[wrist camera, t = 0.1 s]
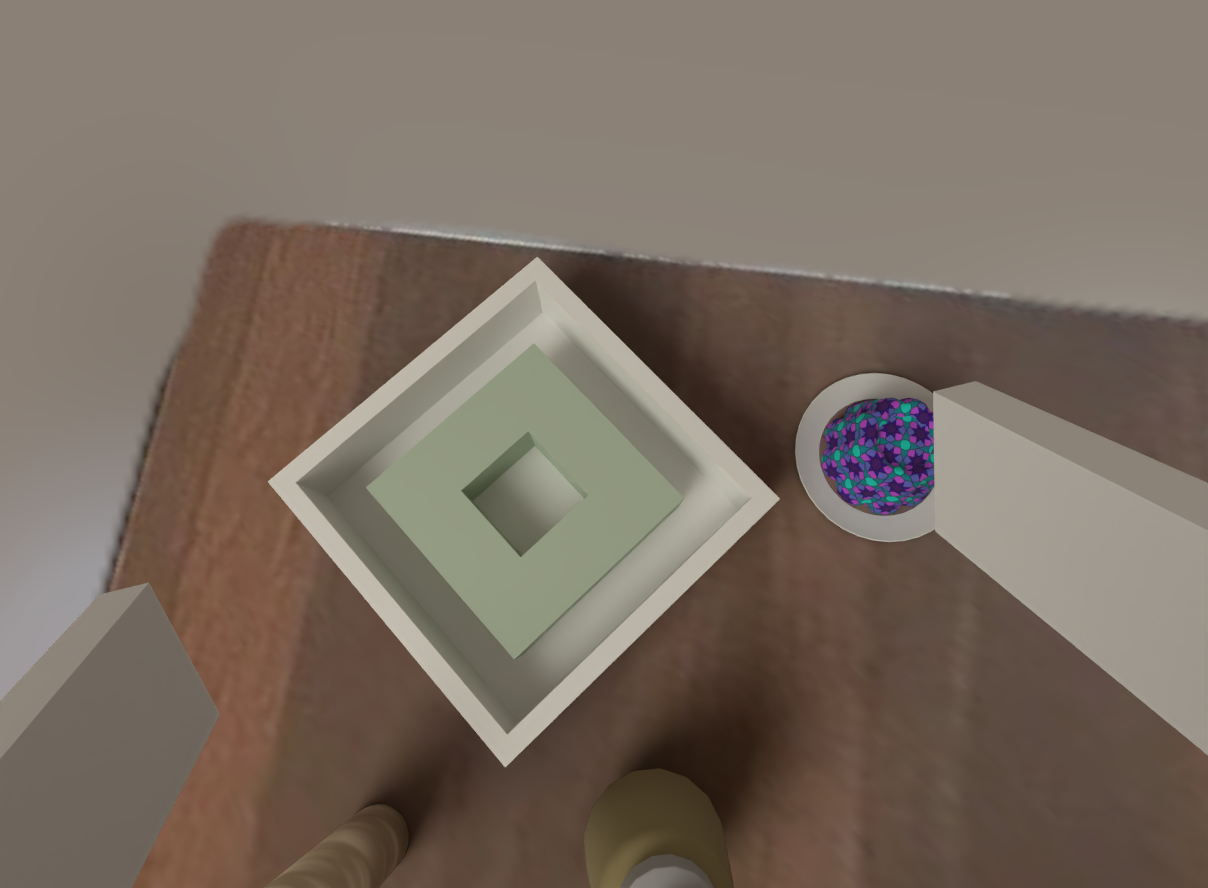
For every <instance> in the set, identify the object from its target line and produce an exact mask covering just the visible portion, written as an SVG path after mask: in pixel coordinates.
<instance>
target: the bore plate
mask: <svg viewBox="0 0 1208 888" xmlns="http://www.w3.org/2000/svg"><path fill="white" fill-rule="evenodd" d="M534 446H536V447H537V449H538V450H539V451H540V452H541V453H542V454H543V455H544V456H545V457H546V458H547V459H548V460H549V461H550V462H551V463H552V465H553V466H554V467H555V468H556V469H557V470H558V471H559V472H560V473H561V474H562V475H563V476H564V477H565V478H566V480H567V481H568V482H569V483H570V484H571V485H572V486H573V487H574V488H575V489H576V490H577V491H578V492H579V493H580V494H581V496H582V497H583V498H584V500H582V501H581V502H580V503H579V504H578V505H577V506H576V507H575V508H574V509H573V510H572V511H570V512H569V513H568V514H567V515H566V516H565V517H564V518H563V519H562V520H561V521H560V522H559V523H557V524H556V525H555V526H554V527H553V528H552V529H551V530H550V531H549V532H548V533H547V534H545V535H544V536H543V537H542V538H541V539H540V540H539V541H538V542H537V543H536V544H535V545H533V546H532V547H531V548H530V549H529V550H528V551H527V552H526V553H525V554H524V555H523V556H522V555H521V554H520V553H519V551H518V550H517V549H516V548H515V547H514V546H513V545H512V544H511V542H510V541H509V540H508V539H507V538H506V537H505V536H504V535H503V534H502V532H501V531H500V530H499V529H498V528H497V527H496V526H495V525H494V524H493V522H492V521H491V520H490V519H489V518H488V517H487V516H486V515H485V513H484V512H483V511H482V510H481V509H480V508H479V507H478V506H477V505H476V503H475V502H474V501H473V500H474V499H476V498H477V497H478V496H479V495H480V494H481V493H482V492H483V491H485V490H486V489H487V488H488V487H489V486H490V485H491V484H492V483H494V482H495V481H496V480H497V479H498V478H499V477H500V476H501V475H502V474H504V473H505V472H506V471H507V470H508V469H509V468H510V467H511V466H513V465H514V464H515V463H516V462H517V461H518V460H519V459H520V458H522V457H523V456H524V455H525V454H526V453H527V452H528V451H529V450H531V449H532V448H533V447H534ZM366 488H367V490H368V491H369V492H370V493H371V494H372V495H373V497H374V498H375V499H376V500H377V501H378V502H379V504H380V505H381V506H382V507H383V508H384V509H385V510H386V512H387V513H388V514H389V515H390V516H391V517H392V519H393V520H394V521H395V522H396V523H397V524H398V526H399V527H400V528H401V529H402V530H403V531H404V532H405V534H406V535H407V536H408V537H409V538H410V539H411V541H412V542H413V543H414V544H415V545H416V546H417V548H418V549H419V550H420V551H421V552H422V553H423V555H424V556H425V557H426V558H427V559H428V560H429V561H430V563H431V564H432V565H433V566H434V567H435V568H436V570H437V571H438V572H439V573H440V574H441V575H442V577H443V578H444V579H445V580H446V581H447V582H448V583H449V585H450V586H451V587H452V588H453V589H454V590H455V592H456V593H457V594H458V595H459V596H460V597H461V599H462V600H463V601H464V602H465V603H466V604H467V605H468V607H469V608H470V609H471V610H472V611H473V612H474V614H475V615H476V616H477V617H478V618H479V619H480V621H481V622H482V623H483V624H484V625H485V626H486V628H487V629H488V630H489V631H490V632H491V633H492V634H493V636H494V637H495V638H496V639H497V640H498V641H499V643H500V644H501V645H502V646H503V647H504V648H505V650H506V651H507V652H508V653H509V654H510V655H511V656H512V658H513V659H516V658H518V657H520V656H522V655H523V654H524V653H525V652H526V651H528V650H529V649H530V648H531V647H532V646H533V645H534V644H535V643H536V642H537V641H538V640H539V639H540V638H541V637H542V636H543V635H544V634H545V633H546V632H548V631H549V630H550V629H551V628H552V627H553V626H554V625H555V624H556V623H557V622H558V621H559V620H560V619H561V618H562V617H563V616H564V615H565V614H567V613H568V612H569V611H570V610H571V609H572V608H573V607H574V606H575V605H576V604H577V603H578V602H579V601H580V600H581V599H582V598H583V597H584V596H585V595H587V594H588V593H589V592H590V591H591V590H592V589H593V588H594V587H595V586H596V585H597V584H598V583H599V582H600V581H601V580H602V579H603V578H604V577H605V576H607V575H608V574H609V573H610V572H611V571H612V570H613V569H614V568H615V567H616V566H617V565H618V564H619V563H620V562H621V561H622V560H623V559H624V558H626V557H627V556H628V555H629V554H630V553H631V552H632V551H633V550H634V549H635V548H636V547H637V546H638V545H639V544H640V543H641V542H642V541H643V540H644V539H646V538H647V537H648V536H649V535H650V534H651V533H652V532H653V531H654V530H655V529H656V528H657V527H658V526H659V525H660V524H661V523H662V522H663V521H665V520H666V519H667V518H668V517H669V516H670V515H671V514H672V513H673V512H674V511H675V510H676V509H677V508H678V507H679V506H680V504H681V503H682V501H683V500H684V497H683V496H682V495H681V494H680V493H679V492H678V491H677V490H676V489H675V488H674V487H673V486H672V485H671V484H670V483H669V482H668V481H667V480H666V479H665V478H664V477H663V476H662V475H661V474H660V473H659V472H658V471H657V470H656V468H655V467H654V466H653V465H652V464H651V463H650V462H649V461H648V460H647V459H646V458H645V457H644V456H643V455H642V454H641V453H640V452H639V451H638V450H637V449H636V448H635V447H634V446H633V445H632V444H631V443H630V442H629V441H628V440H627V439H626V438H625V437H624V435H623V434H622V433H621V432H620V431H619V430H618V429H617V428H616V427H615V426H614V425H613V424H612V423H611V422H610V421H609V420H608V419H607V418H606V417H605V416H604V415H603V414H602V413H601V412H600V411H599V410H598V409H597V408H596V407H595V406H594V405H593V404H592V403H591V401H590V400H589V399H588V398H587V397H586V396H585V395H584V394H583V393H582V392H581V391H580V390H579V389H578V388H577V387H576V386H575V385H574V384H573V383H572V382H571V381H570V380H569V379H568V378H567V377H566V376H565V375H564V374H563V373H562V372H561V371H560V370H559V368H558V367H557V366H556V365H555V364H554V363H553V362H552V361H551V360H550V359H549V358H548V357H547V356H546V355H545V354H544V353H543V352H542V351H541V350H540V349H539V348H538V347H537V346H536V345H535V344H534V343H533V344H532V345H531V346H530V347H529V348H528V349H526V350H525V351H524V352H523V353H522V354H521V355H519V356H518V357H517V358H516V359H515V360H514V361H512V362H511V363H510V364H509V365H508V366H507V367H505V368H504V369H503V370H502V371H501V372H500V373H498V374H497V375H496V376H495V377H494V378H493V379H492V380H490V381H489V382H488V383H487V384H486V385H485V386H483V387H482V388H481V389H480V390H479V391H478V392H476V393H475V394H474V395H473V396H472V397H471V398H469V399H468V400H467V401H466V402H465V403H464V404H462V405H461V406H460V407H459V408H458V409H457V410H455V411H454V412H453V413H452V414H451V415H450V416H448V417H447V418H446V419H445V420H444V421H443V422H441V423H440V424H439V425H438V426H437V427H436V428H434V429H433V430H432V431H431V432H430V433H429V434H427V435H426V436H425V437H424V438H423V439H422V440H421V441H419V442H418V443H417V444H416V445H415V446H414V447H412V448H411V449H410V450H409V451H408V452H407V453H405V454H404V455H403V456H402V457H401V458H400V459H398V460H397V461H396V462H395V463H394V464H393V465H391V466H390V467H389V468H388V469H387V470H386V471H384V472H383V473H382V474H381V475H380V476H379V477H377V478H376V479H375V480H374V481H373V482H372V483H370V484H369V485H368V486H367V487H366Z"/></svg>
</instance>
